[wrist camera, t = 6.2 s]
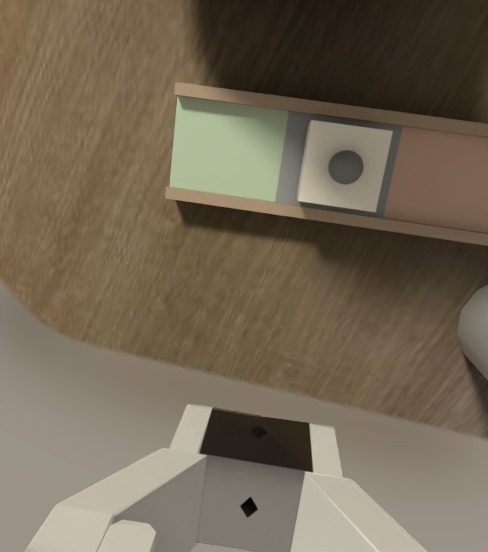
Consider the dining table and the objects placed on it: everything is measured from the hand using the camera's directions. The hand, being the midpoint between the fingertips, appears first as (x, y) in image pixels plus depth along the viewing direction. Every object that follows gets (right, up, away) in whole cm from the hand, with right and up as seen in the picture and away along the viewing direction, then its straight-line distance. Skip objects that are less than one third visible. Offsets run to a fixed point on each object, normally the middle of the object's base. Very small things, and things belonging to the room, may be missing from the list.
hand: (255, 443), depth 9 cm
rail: (+7, +12, +25) cm, 28 cm away
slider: (+6, +11, +23) cm, 27 cm away
